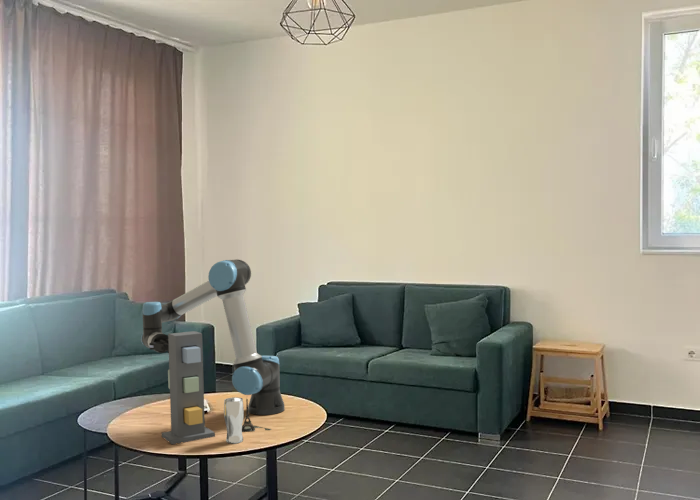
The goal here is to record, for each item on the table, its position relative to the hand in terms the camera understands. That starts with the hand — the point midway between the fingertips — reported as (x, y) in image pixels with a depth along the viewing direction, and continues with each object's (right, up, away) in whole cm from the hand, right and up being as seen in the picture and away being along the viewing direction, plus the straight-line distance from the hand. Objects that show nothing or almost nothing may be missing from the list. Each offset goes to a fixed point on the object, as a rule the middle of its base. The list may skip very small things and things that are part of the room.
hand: (178, 349), depth 256 cm
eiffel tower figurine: (+26, -31, +1) cm, 41 cm away
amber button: (+5, -25, -7) cm, 27 cm away
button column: (+5, -31, -6) cm, 32 cm away
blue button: (+5, -3, -7) cm, 9 cm away
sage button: (+3, -14, -4) cm, 16 cm away
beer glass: (+23, -31, -13) cm, 41 cm away
